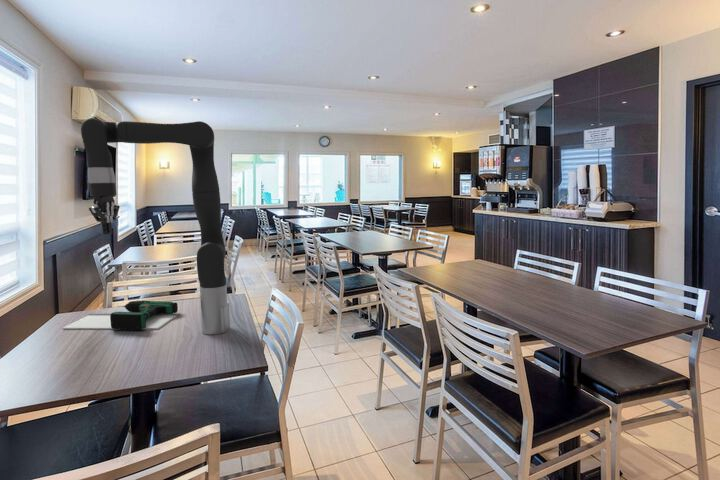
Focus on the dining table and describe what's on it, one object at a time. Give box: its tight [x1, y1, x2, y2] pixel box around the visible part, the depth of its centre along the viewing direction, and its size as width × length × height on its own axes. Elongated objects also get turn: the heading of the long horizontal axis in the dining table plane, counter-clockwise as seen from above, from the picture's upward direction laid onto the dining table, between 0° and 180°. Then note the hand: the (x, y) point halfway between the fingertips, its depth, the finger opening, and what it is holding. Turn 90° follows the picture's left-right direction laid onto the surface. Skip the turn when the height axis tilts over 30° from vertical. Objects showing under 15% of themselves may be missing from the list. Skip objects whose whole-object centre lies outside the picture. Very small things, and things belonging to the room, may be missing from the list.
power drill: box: [110, 300, 179, 331], centre depth 165 cm, size 6×29×25 cm
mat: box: [62, 313, 178, 330], centre depth 163 cm, size 36×16×1 cm, turn 89°
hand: (107, 234), depth 138 cm, fingers closed
